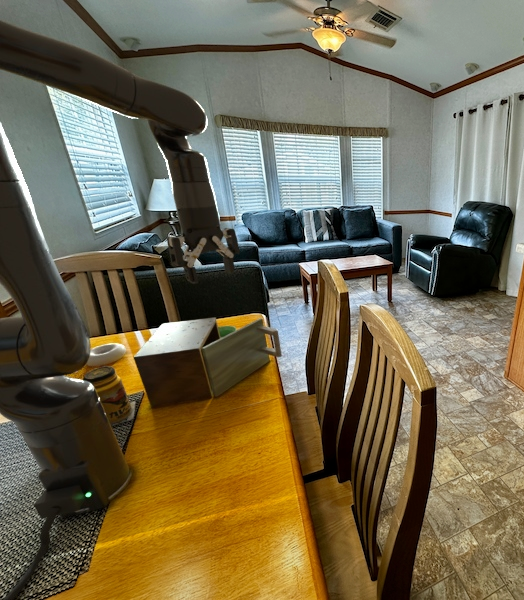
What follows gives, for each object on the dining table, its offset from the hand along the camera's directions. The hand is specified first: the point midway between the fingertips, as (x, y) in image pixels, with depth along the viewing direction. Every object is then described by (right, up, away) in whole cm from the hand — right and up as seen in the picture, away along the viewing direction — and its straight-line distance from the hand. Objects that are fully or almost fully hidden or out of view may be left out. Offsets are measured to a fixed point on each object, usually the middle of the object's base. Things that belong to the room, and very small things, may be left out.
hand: (212, 278), depth 75 cm
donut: (-45, -23, +23) cm, 55 cm away
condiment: (-23, -32, 0) cm, 40 cm away
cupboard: (-12, -27, +12) cm, 32 cm away
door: (+4, -26, +13) cm, 30 cm away
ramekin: (-14, -20, +31) cm, 40 cm away
